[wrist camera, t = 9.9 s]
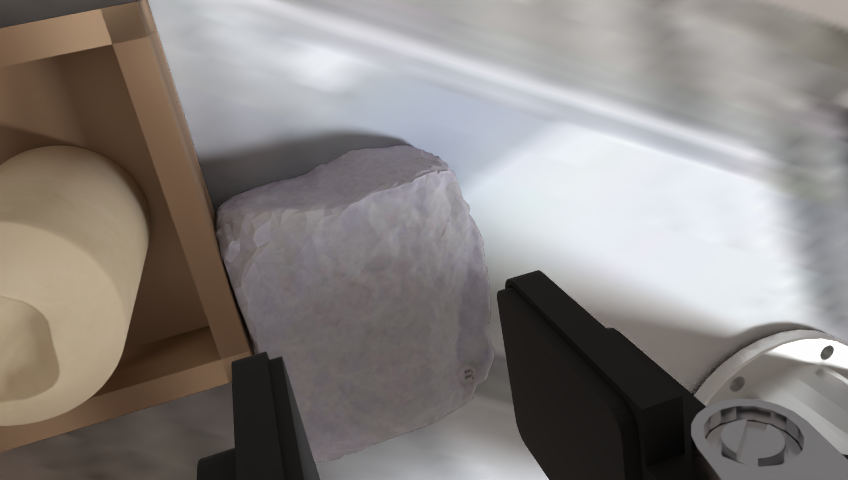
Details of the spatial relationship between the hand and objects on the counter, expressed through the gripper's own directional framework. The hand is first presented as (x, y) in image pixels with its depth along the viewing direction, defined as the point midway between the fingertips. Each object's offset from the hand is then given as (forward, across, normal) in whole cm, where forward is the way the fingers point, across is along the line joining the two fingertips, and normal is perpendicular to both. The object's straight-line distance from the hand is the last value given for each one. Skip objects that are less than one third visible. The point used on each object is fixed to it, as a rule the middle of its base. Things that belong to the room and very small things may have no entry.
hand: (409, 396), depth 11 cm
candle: (+17, +8, 0) cm, 19 cm away
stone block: (+18, -2, +6) cm, 19 cm away
